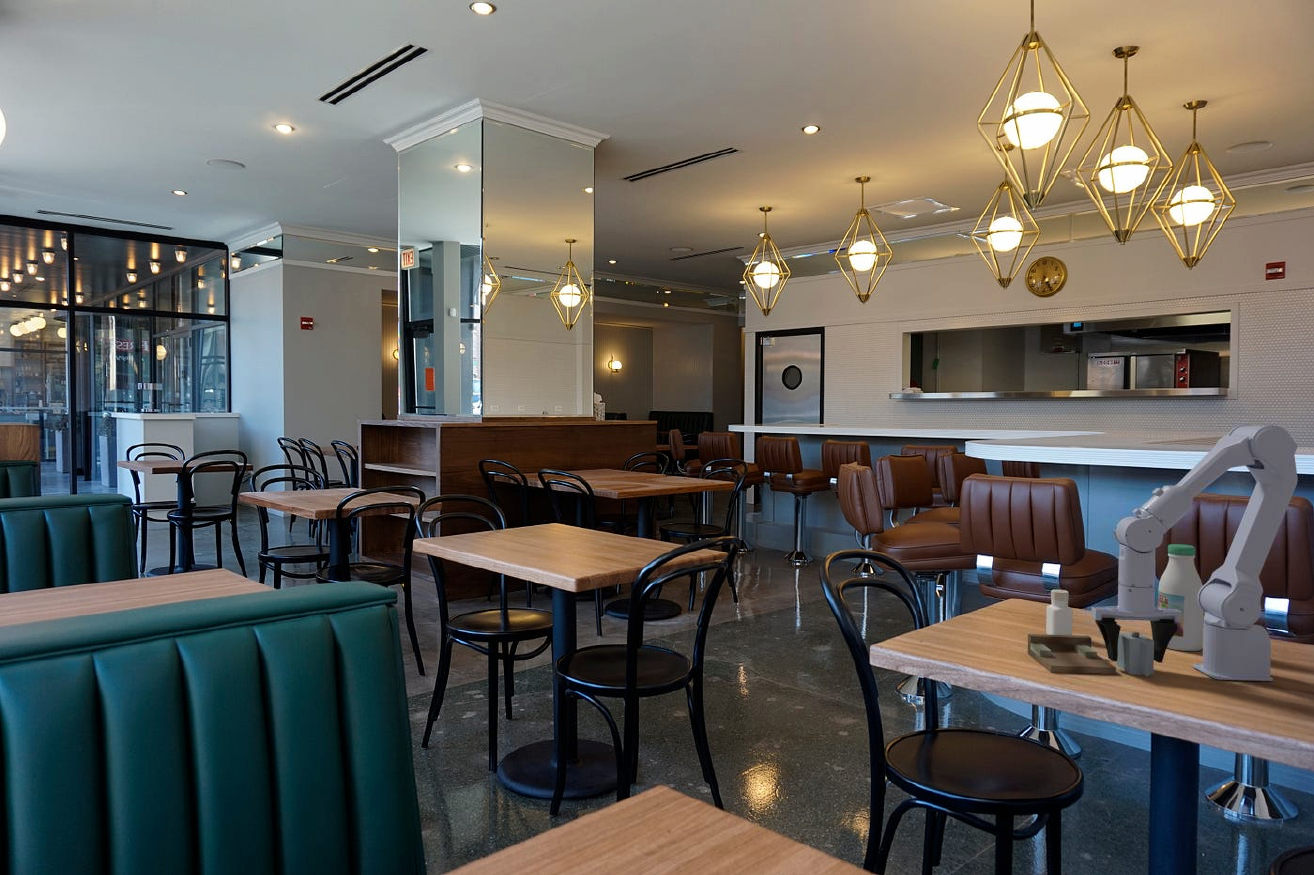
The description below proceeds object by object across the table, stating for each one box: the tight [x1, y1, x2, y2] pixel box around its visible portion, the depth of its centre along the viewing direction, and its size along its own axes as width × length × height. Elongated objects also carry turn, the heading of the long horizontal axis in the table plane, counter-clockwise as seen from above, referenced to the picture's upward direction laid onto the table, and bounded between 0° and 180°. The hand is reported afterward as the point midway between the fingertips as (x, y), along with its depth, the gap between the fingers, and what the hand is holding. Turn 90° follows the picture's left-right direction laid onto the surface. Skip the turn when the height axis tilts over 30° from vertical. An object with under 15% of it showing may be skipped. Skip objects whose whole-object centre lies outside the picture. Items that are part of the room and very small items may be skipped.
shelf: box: [1027, 633, 1117, 675], centre depth 157 cm, size 11×12×4 cm
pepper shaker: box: [1045, 589, 1074, 635], centre depth 175 cm, size 4×4×10 cm
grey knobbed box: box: [1116, 631, 1155, 678], centre depth 152 cm, size 4×7×7 cm, turn 175°
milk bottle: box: [1157, 543, 1205, 652], centre depth 168 cm, size 8×8×20 cm
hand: (1134, 660), depth 153 cm, fingers open, 7 cm apart
